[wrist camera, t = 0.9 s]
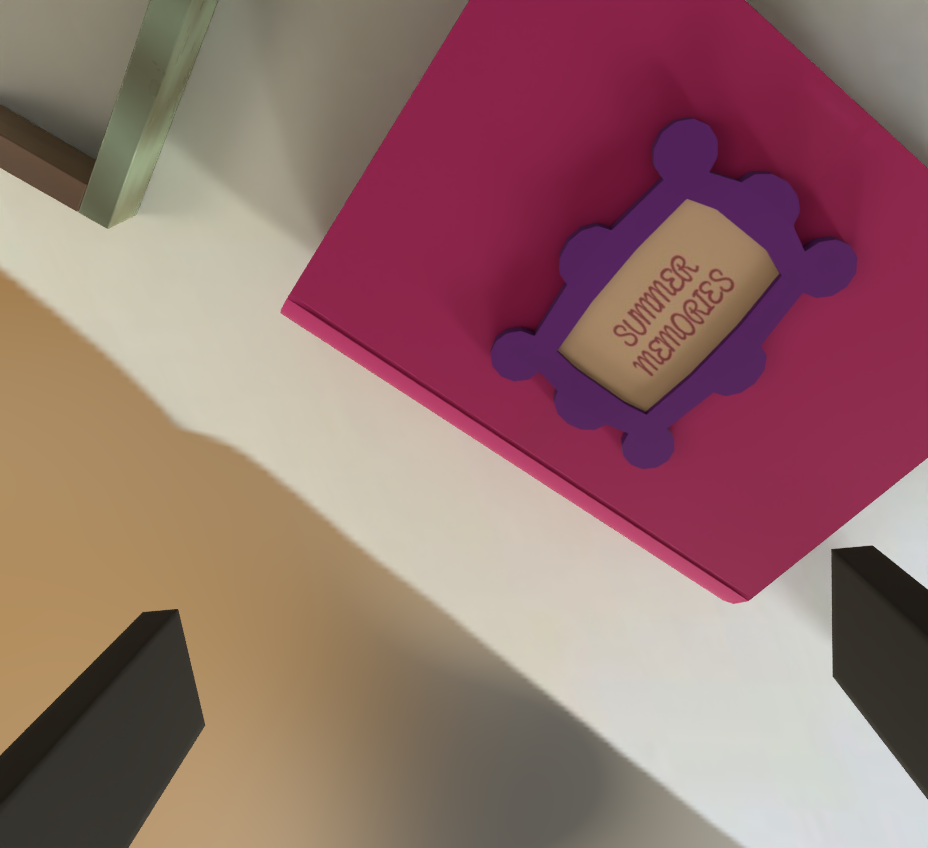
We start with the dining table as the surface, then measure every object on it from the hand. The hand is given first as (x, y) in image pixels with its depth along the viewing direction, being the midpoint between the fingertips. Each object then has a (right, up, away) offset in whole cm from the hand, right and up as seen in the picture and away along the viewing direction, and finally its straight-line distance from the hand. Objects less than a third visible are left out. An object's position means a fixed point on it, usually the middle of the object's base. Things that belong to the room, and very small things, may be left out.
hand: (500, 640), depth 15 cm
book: (+8, +12, +23) cm, 27 cm away
